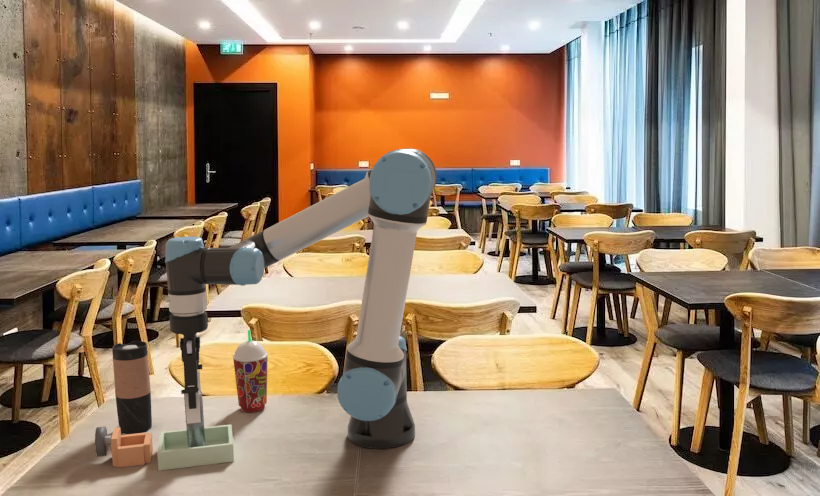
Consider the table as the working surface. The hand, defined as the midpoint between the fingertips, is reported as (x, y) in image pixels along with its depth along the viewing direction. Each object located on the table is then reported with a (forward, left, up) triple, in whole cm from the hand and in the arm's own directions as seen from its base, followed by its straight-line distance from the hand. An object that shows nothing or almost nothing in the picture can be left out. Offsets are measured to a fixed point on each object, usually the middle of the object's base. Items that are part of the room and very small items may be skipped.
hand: (194, 410), depth 160 cm
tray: (0, 0, -10) cm, 10 cm away
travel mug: (+14, -19, -10) cm, 26 cm away
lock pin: (0, 0, -9) cm, 9 cm away
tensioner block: (+15, -2, -10) cm, 18 cm away
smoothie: (-13, -24, -10) cm, 29 cm away
